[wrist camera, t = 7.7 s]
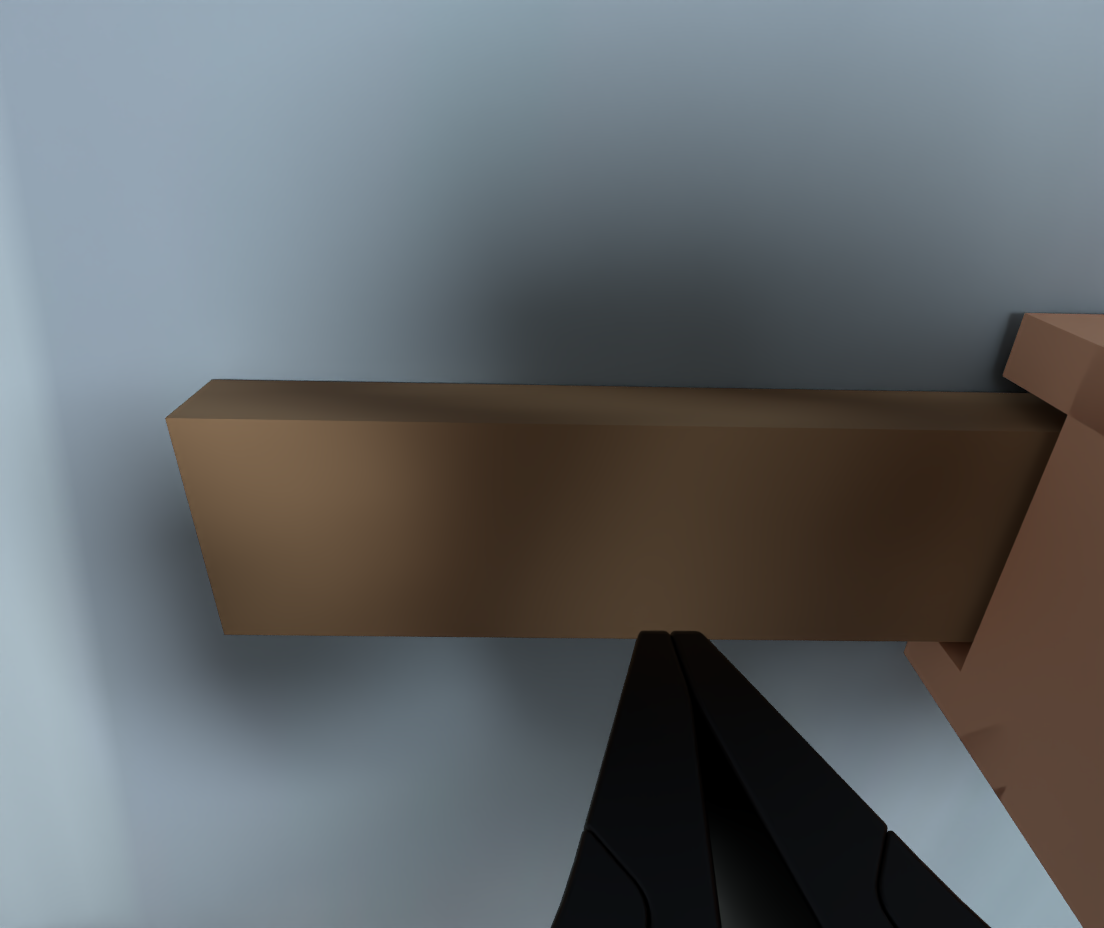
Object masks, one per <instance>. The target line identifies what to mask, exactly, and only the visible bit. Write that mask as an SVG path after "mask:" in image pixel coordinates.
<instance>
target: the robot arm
mask: <svg viewBox="0 0 1104 928" xmlns="http://www.w3.org/2000/svg"><path fill="white" fill-rule="evenodd" d="M551 928H991V927H990V926H989V925H988V924H987V923H985V922H984V921H983V920H982V919H981V918H980V917H979V916H978V915H977V914H976V913H975V912H974V911H972V910H971V909H970V908H969V907H968V906H967V905H966V904H965V903H964V902H963V901H962V900H961V899H960V898H959V897H958V896H957V895H956V894H955V893H954V892H953V891H952V890H951V889H950V888H949V887H948V886H947V885H946V884H945V883H944V882H943V881H942V880H941V879H940V878H939V877H938V876H937V875H936V874H935V873H934V872H933V871H932V870H931V869H930V868H929V867H928V866H927V865H926V864H925V863H924V862H923V861H922V860H920V859H919V857H918V856H917V855H916V854H915V853H914V852H913V851H912V850H911V849H910V848H909V847H908V846H907V845H906V844H905V843H904V842H903V841H902V840H901V839H900V838H899V837H898V836H897V835H896V834H895V833H894V832H893V831H888V832H887V825H886V824H885V823H884V821H883V820H882V819H881V818H880V817H879V816H878V815H877V814H876V813H875V812H874V811H873V810H872V809H871V808H870V807H869V806H868V805H867V804H866V803H865V802H864V801H863V800H862V799H861V798H860V796H859V795H858V794H857V793H856V792H855V791H854V790H853V789H852V788H851V787H850V786H849V785H848V784H847V783H846V782H845V781H844V780H843V779H842V778H841V777H840V776H839V775H838V774H837V773H836V772H835V770H834V769H833V768H832V767H831V766H830V765H829V764H828V763H827V762H826V761H825V760H824V759H823V758H822V757H821V756H820V755H819V754H818V753H817V752H816V751H815V750H814V749H813V748H812V747H811V746H810V744H809V743H808V742H807V741H806V740H805V739H804V738H803V737H802V736H801V735H800V734H799V733H798V732H797V731H796V730H795V729H794V728H793V727H792V726H791V725H790V724H789V723H788V722H787V721H786V720H785V718H784V717H783V716H782V715H781V714H780V713H779V712H778V711H777V710H776V709H775V708H774V707H773V706H772V705H771V704H770V703H769V702H768V701H767V700H766V699H765V698H764V697H763V696H762V695H761V694H760V692H759V691H758V690H757V689H756V688H755V687H754V686H753V685H752V684H751V683H750V682H749V681H748V680H747V679H746V678H745V677H744V676H743V675H742V674H741V673H740V672H739V671H738V670H737V669H736V668H735V666H734V665H733V664H732V663H731V662H730V661H729V660H728V659H727V658H726V657H725V656H724V655H723V654H722V653H721V652H720V651H719V650H718V649H717V648H716V647H715V646H714V645H713V644H712V643H711V641H710V640H709V639H708V638H707V637H706V636H705V635H704V634H703V633H701V632H699V631H673V632H671V633H670V634H669V633H668V632H667V631H664V630H643V631H640V632H639V634H638V636H637V640H636V644H635V647H634V651H633V654H632V658H631V661H630V665H629V668H628V672H627V676H626V679H625V683H624V686H623V690H622V693H621V697H620V700H619V704H618V708H617V711H616V715H615V718H614V722H613V725H612V729H611V733H610V736H609V740H608V743H607V747H606V750H605V754H604V757H603V761H602V765H601V768H600V772H599V775H598V779H597V782H596V786H595V790H594V793H593V797H592V800H591V804H590V807H589V811H588V814H587V818H586V822H585V825H584V831H583V832H582V834H581V838H580V842H579V845H578V849H577V852H576V856H575V859H574V863H573V866H572V869H571V872H570V875H569V878H568V881H567V885H566V888H565V891H564V894H563V897H562V900H561V903H560V906H559V908H558V911H557V913H556V916H555V918H554V921H553V923H552V926H551Z"/></svg>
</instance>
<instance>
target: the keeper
mask: <svg viewBox="0 0 1104 928" xmlns="http://www.w3.org/2000/svg"><path fill="white" fill-rule="evenodd" d="M1002 376H1003V377H1005V378H1007V379H1008V380H1010V381H1012V382H1013V383H1015V384H1017V385H1018V386H1020V387H1022V388H1024V389H1025V390H1027V391H1029V392H1030V393H1032V394H1034V395H1035V396H1037V397H1039V398H1040V399H1042V400H1044V401H1045V402H1047V403H1049V404H1050V405H1052V406H1054V407H1055V408H1057V409H1059V410H1061V411H1062V412H1064V413H1066V414H1067V418H1066V420H1065V422H1064V425H1063V427H1062V430H1061V432H1060V434H1059V437H1058V439H1057V442H1056V444H1055V446H1054V449H1053V451H1052V454H1051V456H1050V458H1049V461H1048V463H1047V465H1046V468H1045V470H1044V473H1043V475H1042V477H1041V480H1040V482H1039V485H1038V487H1037V489H1036V492H1035V494H1034V497H1033V499H1032V501H1031V504H1030V506H1029V509H1028V511H1027V513H1026V516H1025V518H1024V521H1023V523H1022V525H1021V528H1020V530H1019V533H1018V535H1017V537H1016V540H1015V542H1014V545H1013V547H1012V549H1011V552H1010V554H1009V557H1008V559H1007V561H1006V564H1005V566H1004V569H1003V571H1002V573H1001V576H1000V578H999V581H998V583H997V585H996V588H995V590H994V593H993V595H992V597H991V600H990V602H989V605H988V607H987V609H986V612H985V614H984V617H983V619H982V621H981V624H980V626H979V629H978V631H977V633H976V636H975V638H974V641H973V642H919V641H908V642H907V645H906V647H905V650H904V654H905V656H906V657H907V659H908V660H909V662H910V663H911V665H912V666H913V668H914V669H915V671H916V673H917V674H918V676H919V677H920V679H921V680H922V682H923V683H924V685H925V686H926V688H927V689H928V691H929V692H930V694H931V695H932V697H933V699H934V700H935V702H936V703H937V705H938V706H939V708H940V709H941V711H942V712H943V714H944V715H945V717H946V718H947V720H948V721H949V723H950V725H951V726H952V728H953V729H954V731H955V732H956V734H957V735H958V737H959V738H960V740H961V741H962V743H963V744H964V746H965V748H966V749H967V751H968V752H969V754H970V755H971V757H972V758H973V760H974V761H975V763H976V764H977V766H978V767H979V769H980V770H981V772H982V774H983V775H984V777H985V778H986V780H987V781H988V783H989V784H990V786H991V787H992V789H993V790H994V792H995V793H996V795H997V797H998V798H999V800H1000V801H1001V803H1002V804H1003V806H1004V807H1005V809H1006V810H1007V812H1008V813H1009V815H1010V816H1011V818H1012V819H1013V821H1014V823H1015V824H1016V826H1017V827H1018V829H1019V830H1020V832H1021V833H1022V835H1023V836H1024V838H1025V839H1026V841H1027V842H1028V844H1029V845H1030V847H1031V849H1032V850H1033V852H1034V853H1035V855H1036V856H1037V858H1038V859H1039V861H1040V862H1041V864H1042V865H1043V867H1044V868H1045V870H1046V872H1047V873H1048V875H1049V876H1050V878H1051V879H1052V881H1053V882H1054V884H1055V885H1056V887H1057V888H1058V890H1059V891H1060V893H1061V894H1062V896H1063V898H1064V899H1065V901H1066V902H1067V904H1068V905H1069V907H1070V908H1071V910H1072V911H1073V913H1074V914H1075V916H1076V917H1077V919H1078V921H1079V922H1080V924H1081V925H1082V927H1083V928H1104V314H1051V313H1025V314H1024V316H1023V319H1022V322H1021V325H1020V328H1019V330H1018V333H1017V336H1016V339H1015V342H1014V344H1013V347H1012V350H1011V353H1010V356H1009V358H1008V361H1007V364H1006V367H1005V370H1004V372H1003V375H1002Z"/></svg>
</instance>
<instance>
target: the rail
mask: <svg viewBox="0 0 1104 928" xmlns="http://www.w3.org/2000/svg"><path fill="white" fill-rule="evenodd" d="M1066 418H1067V414H1066V413H1064V412H1062V411H1061V410H1059V409H1057V408H1055V407H1054V406H1052V405H1050V404H1049V403H1047V402H1045V401H1044V400H1042V399H1040V398H1039V397H1037V396H1035V395H1034V394H1032V393H989V392H928V391H868V390H807V389H747V388H686V387H626V386H565V385H505V384H444V383H384V382H323V381H263V380H211V381H210V382H208V383H207V384H206V385H205V386H204V387H202V388H201V389H200V390H199V391H197V392H196V393H195V394H194V395H193V396H191V397H190V398H189V399H188V400H187V401H185V402H184V403H183V404H182V405H181V406H179V407H178V408H177V409H176V410H174V411H173V412H172V413H171V414H170V415H168V416H167V417H166V418H165V419H166V423H167V426H168V430H169V434H170V437H171V441H172V445H173V448H174V452H175V456H176V459H177V463H178V467H179V470H180V474H181V478H182V481H183V485H184V489H185V492H186V496H187V500H188V503H189V507H190V511H191V514H192V518H193V522H194V525H195V529H196V533H197V536H198V540H199V544H200V547H201V551H202V554H203V558H204V562H205V565H206V569H207V573H208V576H209V580H210V584H211V587H212V591H213V595H214V598H215V602H216V606H217V609H218V613H219V617H220V620H221V624H222V628H223V631H224V635H310V636H411V637H513V638H614V639H637V636H638V634H639V632H640V631H643V630H664V631H667V632H668V633H669V634H670V633H671V632H673V631H699V632H701V633H703V634H704V635H705V636H706V637H707V638H708V639H716V640H817V641H919V642H973V641H974V638H975V636H976V633H977V631H978V629H979V626H980V624H981V621H982V619H983V617H984V614H985V612H986V609H987V607H988V605H989V602H990V600H991V597H992V595H993V593H994V590H995V588H996V585H997V583H998V581H999V578H1000V576H1001V573H1002V571H1003V569H1004V566H1005V564H1006V561H1007V559H1008V557H1009V554H1010V552H1011V549H1012V547H1013V545H1014V542H1015V540H1016V537H1017V535H1018V533H1019V530H1020V528H1021V525H1022V523H1023V521H1024V518H1025V516H1026V513H1027V511H1028V509H1029V506H1030V504H1031V501H1032V499H1033V497H1034V494H1035V492H1036V489H1037V487H1038V485H1039V482H1040V480H1041V477H1042V475H1043V473H1044V470H1045V468H1046V465H1047V463H1048V461H1049V458H1050V456H1051V454H1052V451H1053V449H1054V446H1055V444H1056V442H1057V439H1058V437H1059V434H1060V432H1061V430H1062V427H1063V425H1064V422H1065V420H1066Z"/></svg>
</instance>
